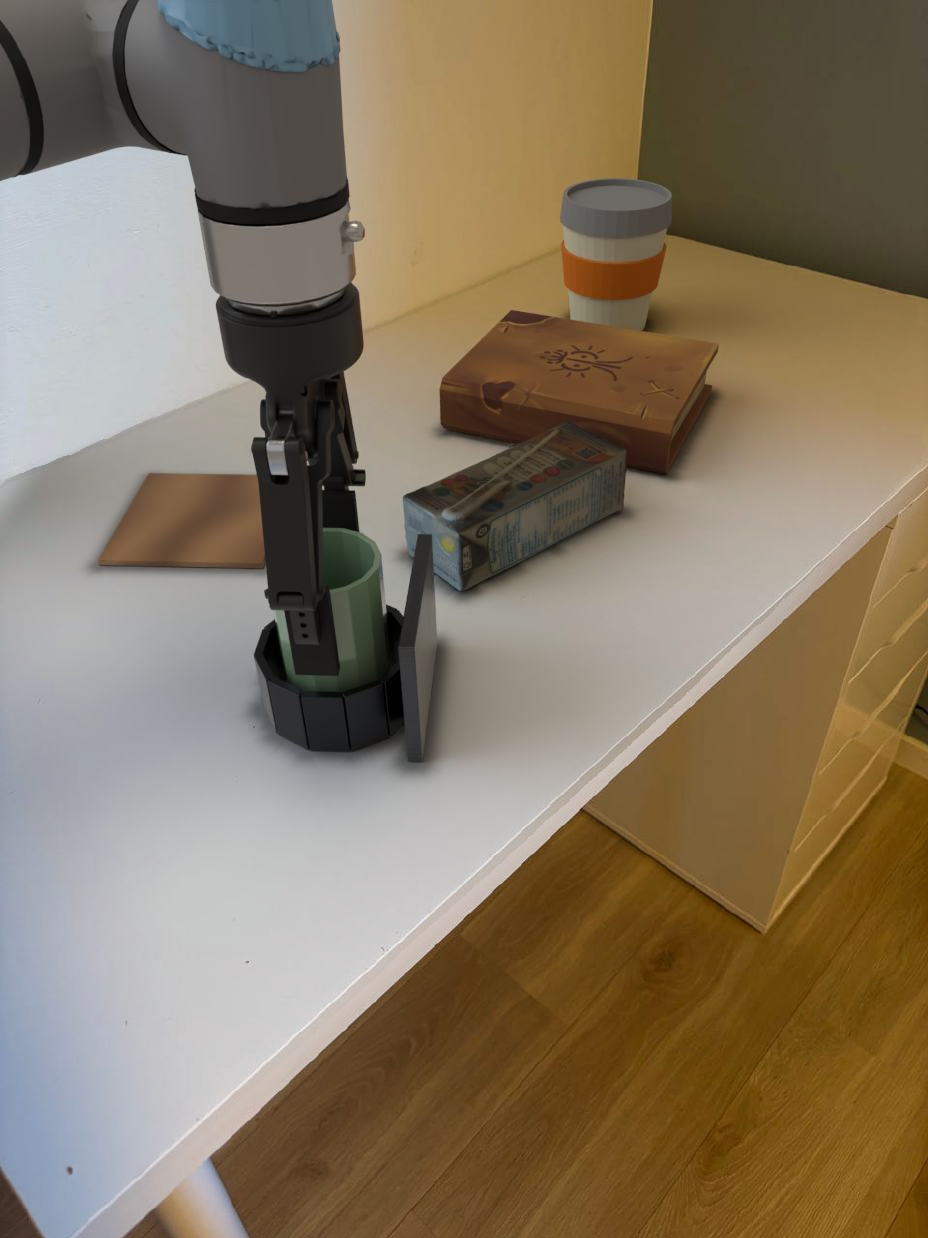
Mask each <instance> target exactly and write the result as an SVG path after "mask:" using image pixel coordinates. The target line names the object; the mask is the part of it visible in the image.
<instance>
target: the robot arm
mask: <svg viewBox="0 0 928 1238" xmlns="http://www.w3.org/2000/svg"><path fill="white" fill-rule="evenodd" d="M333 5H334V4H333V0H0V182H3V181H5V180H9V179H13V178H16V177H18V176H26V175H29V174H33V173H37V172H39V171H43V170H46V169H50V168H53V167H57V166H61V165H64V164H67V163H71V162H74V161H77V160H81V159H85V158H87V157H91V156H94V155H97V154H101V153H104V152H108V151H111V150H115V149H120V148H129V147H130V148H132V147H133V148H134V147H135V148H140V149H141V148H142V149H147V150H153V151H157V152H163V153H168V154H174V155H178V156H179V155H180V156H185V157H186V156H187V158H188V163H189V166H190V172H191V176H192V179H193V184H194V198H195V203H196V206H197V207H196V208H197V215H198V220H199V227H200V232H201V239H202V243H203V249H204V257H205V261H206V266H207V267H206V268H207V272H208V279H209V285H210V287H211V289H213V291H214V292H215V293H216V294H218V297H217V299H216V302H215V310H216V311H215V312H216V315H217V316H216V317H217V322H218V326H219V332H220V338H221V343H222V349H223V354H224V358H225V361H226V364H227V365H228V367H229V368H230V369H231V370H232V371H234V373H236V374H237V375H239V376H241V377H242V378H245V379H249V380H250V381H252V382H255V383H256V384H258V385H259V386H260V387H262V388H263V389H264V391H265V397H264V398H262V399H261V400H260V404H259V425H260V427H261V429H262V431H263V432H264V436H254V437H253V439H252V442H251V446H250V451H251V454H252V458H253V462H254V469H255V473H256V475H257V478H258V484H259V495H260V506H261V517H262V528H263V539H264V550H265V565H266V567H265V572H266V582H267V588H265V589H264V590H263V591H264V593H263V594H264V597H265V599H266V600H267V602H268V605H269V609H270V610H271V611H273V610H284V613H285V619H286V625H287V630H288V636H289V642H290V647H291V653H292V659H293V665H294V670H295V675H316V676H338V675H339V671H340V663H339V656H338V648H337V641H336V633H335V626H334V618H333V611H332V604H331V596H330V589H329V585H324V582H323V528H345V529H349V530H352V531H356V532H360V523H359V514H358V513H359V512H358V505H357V504H358V503H357V495H356V494H357V493H356V490H355V489H351V490H350V487H366V484H367V483H366V482H367V478H366V477H367V473H366V472H367V471H366V469H363V468H361V469H359V468H358V469H355V468H354V465H357V463H358V459H359V458H360V452H359V451H358V447H357V440H356V435H355V429H354V424H353V423H354V422H353V418H352V411H351V406H350V400H349V394H348V389H347V383H346V376H345V372H346V371H347V370H349V369H350V368H351V367H353V366H354V365H355V364H356V363H357V362H358V361H359V359H361V356H362V354H363V351H364V348H365V346H364V345H365V343H364V342H365V341H364V331H363V320H362V319H363V318H362V310H361V299H360V292H359V289H358V288H357V286H356V285H354V284H353V281H354V280H355V278H356V275H357V266H356V255H355V244H354V243H357V242H361V241H362V240H364V238H365V237H366V229H365V227H364V225H363V223H362V221H359V220H352V221H350V215H349V214H350V212H351V209H352V208H351V203H350V196H351V195H350V183H349V178H348V173H347V159H346V148H345V147H346V145H345V135H344V134H345V131H344V118H343V117H344V116H343V100H342V80H341V79H342V78H341V62H340V53H341V49H342V48H341V37H340V33H339V32H338V29H337V25H336V18H335V11H334V6H333ZM360 533H361V532H360Z"/></svg>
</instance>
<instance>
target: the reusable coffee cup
mask: <svg viewBox="0 0 928 1238" xmlns="http://www.w3.org/2000/svg"><path fill="white" fill-rule="evenodd" d="M672 196H673V194H672V192H671V190H670V189H668V188H667V187H665V186H664V185H661V184H659V183H655V182H651V181H647V180H643V179H636V178H635V179H634V178H621V177H619V178H618V177H615V178H613V177H611V178H609V177H607V178H595V179H589V180H584V181H579V182H576V183H574V184H572V185H570V186H568V187H566V188H565V189H564V191H563V193H562V200H561V208H560V214H559V222H560V223H561V225H562V229H563V240H562V241H561V243H560V249H561V250H560V251H561V260H562V261H561V262H562V263H561V264H562V273H563V283H564V286H565V287H566V289H567V292H568V293H567V294H568V305H569V317H570V318H569V319H571V320H577V321H583V322H589V323H595V324H601V325H608V326H614V327H620V328H626V329H632V330H638V331H644V329H645V328H646V322H647V319H648V313H649V311H650V306H651V301H652V298H653V297H652V296H653V293H654V291H656V289H657V288H658V286H659V283H660V282H659V281H660V277H661V273H662V269H663V264H664V260H665V256H666V252H667V247H668V246H667V245H666V243H665V240H666V236H667V231H668V228H669V227H670V226H671V224H672V220H673V197H672Z"/></svg>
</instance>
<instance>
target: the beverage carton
mask: <svg viewBox="0 0 928 1238" xmlns="http://www.w3.org/2000/svg"><path fill="white" fill-rule="evenodd" d="M626 457H627V451H626V449H624V448H623V447H620V446H618V445H615V444H612V443H611V442H609V441H607V440H604V439H603V438H602V437H600V436H599V435H596V434H594V433H592V432H589V431H587V430H584V429H582V428H581V427H579V426H577V425H575V424H573V423H571V422H570V421H567V422H566V423H564V424H562V425H559V426H557V427H554V428H552V429H550V430H548V431H545V432H543V433H541V434H540V435H537V436H535V437H533V438H531V439H529V440H526V441H524V442H522V443H519V444H517V443H516V444H515V445H514V446H512V447H509V448H507V449H505V450H503V451H500V452H499V453H496V454H494V455H492V456H490V457H489V458H486V459H483V460H480V461H478V462H477V463H474V464H472V465H470V466H468V467H465V468H464V469H461V470H459V471H456V472H454V473H452V474H449V475H448V476H445V477H444V478H441V479H439V480H436V481H435V482H432V483H431V484H428V485H424V486H421V487H420V488H417V489H416V490H414V491H411V492H408V493H406V494H404V495H403V496H402V497H401V499H402V509H403V517H404V518H403V519H404V523H403V525H404V526H403V527H404V537H405V540H406V546H407V553H408V555H409V556H410V557H411V558H412V559H414V553H415V547H416V541H417V535H418V534H432V546H433V565H434V574H436V575H437V576H439V577H440V578H442V579H443V580H445V581H446V582H447V583H448V584H449V585H451V586H452V587H453V588H454V589H457V591H459V592H464V591H465V590H468V589H470V588H472V587H473V586H475V585H478V584H479V583H481V582H483V581H485V580H487V579H488V578H489V579H490V578H491V577H493V576H495V575H498V574H500V573H501V572H503V571H505V570H508V569H509V568H512V567H513V566H516V565H517V564H519V563H521V562H522V561H524V560H526V559H528V558H530V557H532V556H534V555H535V554H538V553H540V552H542V551H543V550H546V549H547V548H549V547H551V546H553V545H555V544H557V543H558V542H560V541H562V540H564V539H566V538H568V537H569V536H572V535H574V534H575V533H576V532H579V531H581V530H583V529H585V528H587V527H589V526H591V525H593V524H594V523H596V522H599V521H600V520H602V519H604V518H607V517H608V516H610V515H613V514H614V513H617V512H618V511H620V510H623V509H624V506H625V505H624V503H625V502H624V501H625V490H626V489H625V488H626V474H627V466H626V462H627V461H626Z"/></svg>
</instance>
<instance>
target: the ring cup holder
mask: <svg viewBox="0 0 928 1238" xmlns="http://www.w3.org/2000/svg"><path fill="white" fill-rule="evenodd" d="M435 585H436V584H435V572H434V565H433V546H432V534H418V535H417V541H416V547H415V553H414V558H412V565H411V571H410V576H409V583H408V588H407V593H406V594H407V595H406V600H405V605H404V612H403V614H402V612H400V610H399V609H398V608H396V607H394V606H392V605H389V604H387V603H386V612H387V624H388V635H389V646H390V657H391V665H392V664H393V665H392V666H391V669H389V670H388V671H387V672H386V673H385V674H384V675H383V676H382V677H381V678H380V679H379V680H376V681H373V682H370V683H367V684H364V685H362V686H359V687H356V688H353V689H350V690H347V691H344V692H325V691H303V690H301V689H299V688H296V687H294V686H292V685H290V684H288V683H287V682H286V681H285V680H286V676H285V671H284V665H283V660H282V654H281V649H280V644H279V638H278V633H277V627H276V622H275V618H274V619H273V620H272V621H270V622H269V623H267V624H266V625H265V626H264V627H263V628H262V629H261V633H260V635H259V638H258V641H257V643H256V647H255V650H254V653H253V658H254V663H255V669H256V673H257V679H258V683H259V688H260V694H261V697H262V698H261V699H262V703H263V707H264V711H265V713H266V715H267V717H268V719H269V721H270V723H271V725H272V727H273V729H274V731H275V733H276V734H277V735H278V736H280V737H282V738H284V739H286V740H287V741H290V742H292V743H294V744H296V745H297V746H300V747H301V748H303V749H305V750H309V751H310V752H311V751H315V752H339V753H340V752H346V753H350V751H351V752H354V751H357V750H360V749H362V748H365V747H368V746H370V745H373V744H376V743H378V742H382V741H384V740H387V739H389V737H392V736H393V735H394V734H395V733H396V732H397V731H398V730H399V729H400V728H401V727H402V726H403V725H404V734H405V735H404V736H405V746H406V759H407V760H406V761H407V762H412V763H413V762H414V763H417V762H419V763H422V762H423V760H424V754H425V753H424V752H425V745H426V737H427V729H428V720H429V713H430V705H431V704H430V703H431V697H432V689H433V682H434V673H435V666H436V659H437V658H436V657H437V652H438V651H437V650H438V630H437V629H438V628H437V612H436V611H437V608H436V607H437V606H436V590H435V589H436V587H435Z"/></svg>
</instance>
